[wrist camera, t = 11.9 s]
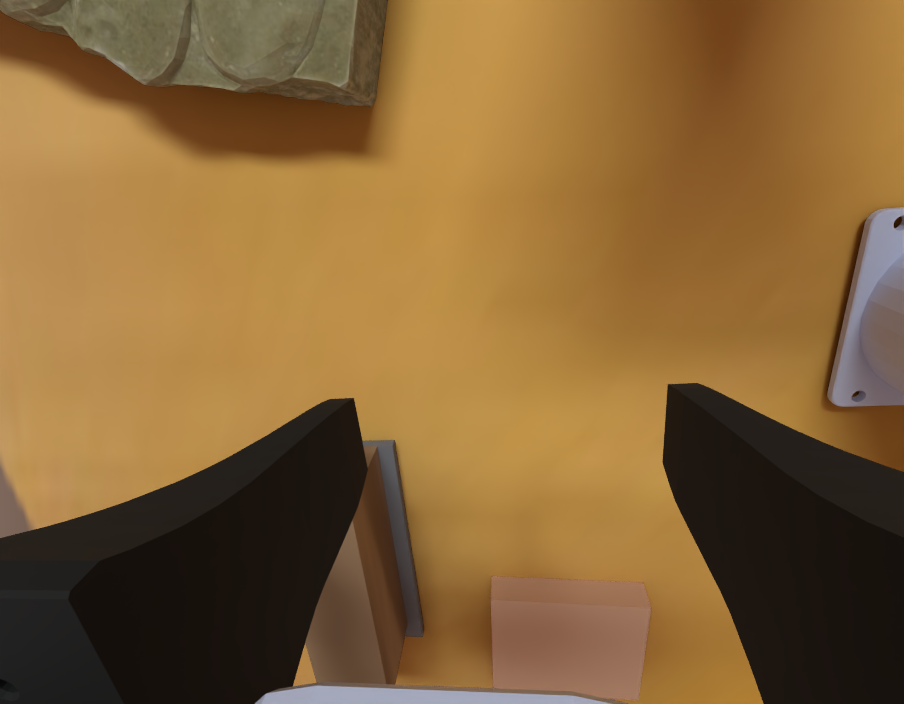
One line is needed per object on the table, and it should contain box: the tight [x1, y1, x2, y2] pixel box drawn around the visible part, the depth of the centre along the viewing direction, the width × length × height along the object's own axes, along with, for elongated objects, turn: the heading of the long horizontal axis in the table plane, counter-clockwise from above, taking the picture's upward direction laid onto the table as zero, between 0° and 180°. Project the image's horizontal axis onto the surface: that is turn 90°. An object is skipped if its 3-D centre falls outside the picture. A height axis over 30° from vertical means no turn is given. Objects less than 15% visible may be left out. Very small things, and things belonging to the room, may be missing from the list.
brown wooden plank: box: [305, 446, 407, 685], centre depth 24 cm, size 4×12×4 cm, turn 5°
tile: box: [491, 576, 651, 701], centre depth 27 cm, size 8×2×7 cm
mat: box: [362, 440, 424, 637], centre depth 27 cm, size 5×13×1 cm, turn 5°
